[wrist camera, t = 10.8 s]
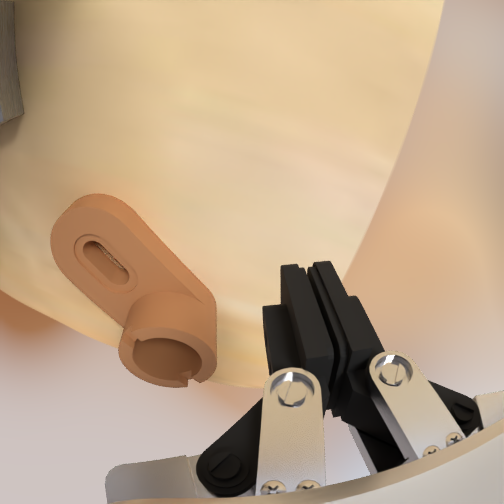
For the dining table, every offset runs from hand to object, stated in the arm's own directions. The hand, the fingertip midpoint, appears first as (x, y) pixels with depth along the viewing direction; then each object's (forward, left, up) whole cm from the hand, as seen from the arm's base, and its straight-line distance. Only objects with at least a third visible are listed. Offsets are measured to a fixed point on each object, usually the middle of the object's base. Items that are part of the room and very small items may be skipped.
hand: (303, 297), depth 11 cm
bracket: (+8, -12, -15) cm, 21 cm away
